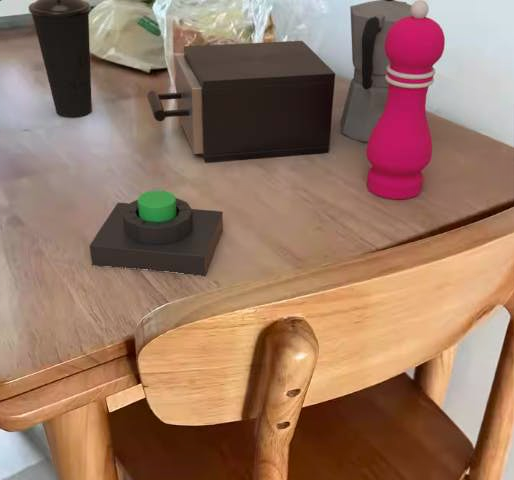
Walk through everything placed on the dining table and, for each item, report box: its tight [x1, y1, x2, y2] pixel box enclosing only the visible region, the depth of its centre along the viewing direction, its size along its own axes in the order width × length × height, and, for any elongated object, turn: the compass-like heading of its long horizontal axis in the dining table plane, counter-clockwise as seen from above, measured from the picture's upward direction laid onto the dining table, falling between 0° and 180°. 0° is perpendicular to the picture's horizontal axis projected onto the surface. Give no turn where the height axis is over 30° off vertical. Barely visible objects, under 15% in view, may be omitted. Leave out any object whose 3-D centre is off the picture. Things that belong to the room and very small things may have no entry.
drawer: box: [146, 55, 204, 155], centre depth 92 cm, size 19×13×8 cm
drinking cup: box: [28, 0, 93, 118], centre depth 95 cm, size 8×8×20 cm
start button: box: [137, 189, 177, 222], centre depth 70 cm, size 4×4×2 cm
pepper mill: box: [365, 0, 446, 200], centre depth 78 cm, size 7×7×20 cm
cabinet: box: [183, 40, 336, 164], centre depth 92 cm, size 16×14×10 cm
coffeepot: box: [339, 0, 412, 144], centre depth 91 cm, size 15×9×18 cm, turn 158°
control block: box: [89, 197, 224, 277], centre depth 71 cm, size 11×9×4 cm
